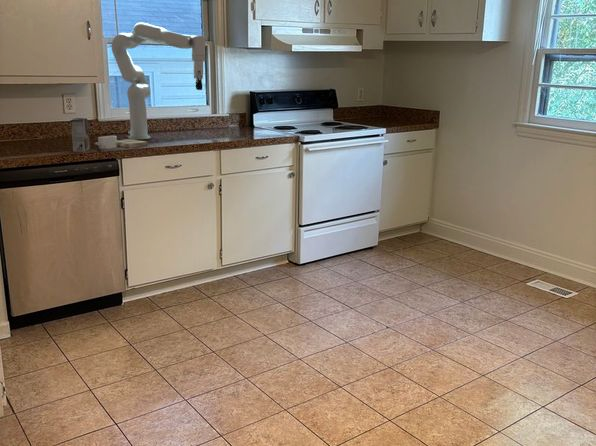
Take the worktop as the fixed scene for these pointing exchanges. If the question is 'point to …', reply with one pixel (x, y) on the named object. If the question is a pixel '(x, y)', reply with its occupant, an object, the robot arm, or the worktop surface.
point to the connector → (107, 142)
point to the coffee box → (80, 135)
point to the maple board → (131, 143)
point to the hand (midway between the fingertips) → (199, 89)
